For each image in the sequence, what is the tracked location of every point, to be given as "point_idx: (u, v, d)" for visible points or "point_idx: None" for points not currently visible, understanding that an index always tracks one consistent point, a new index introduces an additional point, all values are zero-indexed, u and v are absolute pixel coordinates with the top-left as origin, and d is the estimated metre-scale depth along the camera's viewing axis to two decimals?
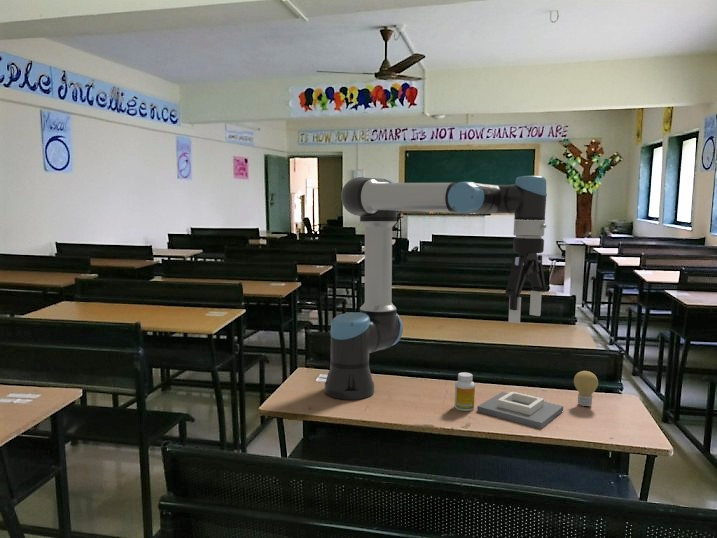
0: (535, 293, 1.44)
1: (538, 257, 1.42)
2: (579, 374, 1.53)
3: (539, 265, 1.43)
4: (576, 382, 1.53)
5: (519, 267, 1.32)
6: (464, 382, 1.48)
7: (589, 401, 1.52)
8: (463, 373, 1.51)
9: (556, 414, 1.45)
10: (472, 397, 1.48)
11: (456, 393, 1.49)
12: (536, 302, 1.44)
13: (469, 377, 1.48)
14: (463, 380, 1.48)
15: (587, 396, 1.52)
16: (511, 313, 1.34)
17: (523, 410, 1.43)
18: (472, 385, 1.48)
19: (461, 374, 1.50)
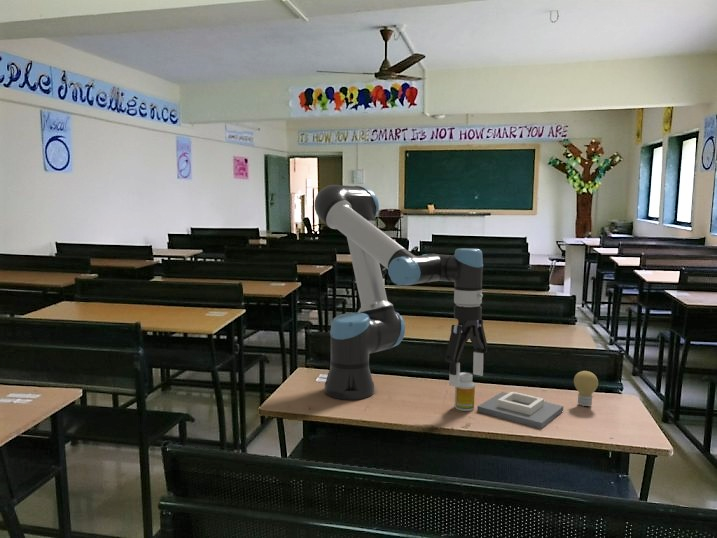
0: (477, 354, 1.54)
1: (479, 321, 1.52)
2: (579, 374, 1.53)
3: (480, 329, 1.52)
4: (576, 382, 1.53)
5: (457, 335, 1.42)
6: (464, 382, 1.48)
7: (589, 401, 1.52)
8: (463, 373, 1.51)
9: (556, 414, 1.45)
10: (472, 397, 1.48)
11: (456, 393, 1.49)
12: (478, 363, 1.54)
13: (469, 377, 1.48)
14: (463, 380, 1.48)
15: (587, 396, 1.52)
16: (451, 377, 1.44)
17: (523, 410, 1.43)
18: (472, 385, 1.48)
19: (461, 374, 1.50)
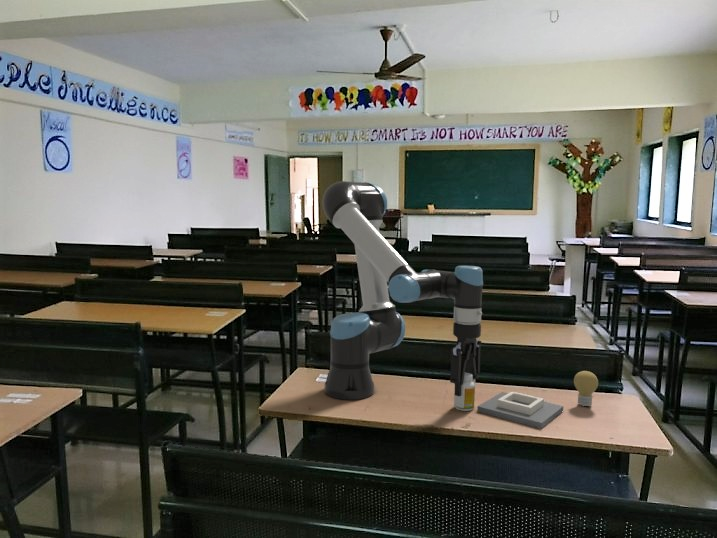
0: None
1: (477, 342, 1.53)
2: (579, 374, 1.53)
3: (477, 350, 1.52)
4: (576, 382, 1.53)
5: (458, 358, 1.44)
6: (464, 382, 1.48)
7: (589, 401, 1.52)
8: None
9: (556, 414, 1.45)
10: (472, 397, 1.48)
11: None
12: None
13: (469, 377, 1.48)
14: None
15: (587, 396, 1.52)
16: (456, 398, 1.48)
17: (523, 410, 1.43)
18: (472, 385, 1.48)
19: None
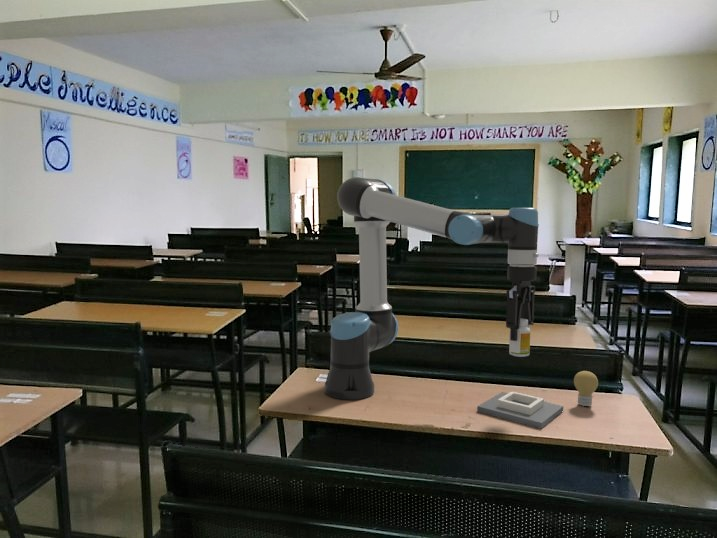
0: None
1: (531, 287, 1.49)
2: (579, 374, 1.53)
3: (531, 295, 1.49)
4: (576, 382, 1.53)
5: (514, 300, 1.40)
6: (519, 327, 1.44)
7: (589, 401, 1.52)
8: None
9: (556, 414, 1.45)
10: (528, 342, 1.44)
11: None
12: None
13: (525, 321, 1.44)
14: None
15: (587, 396, 1.52)
16: (512, 343, 1.44)
17: (523, 410, 1.43)
18: (528, 330, 1.44)
19: None
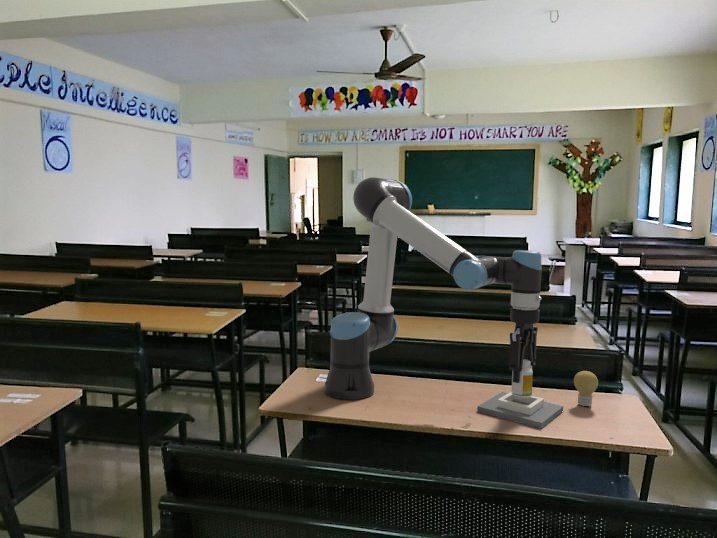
0: None
1: (534, 328, 1.50)
2: (579, 374, 1.53)
3: (533, 336, 1.50)
4: (576, 382, 1.53)
5: (517, 343, 1.41)
6: (522, 369, 1.46)
7: (589, 401, 1.52)
8: None
9: (556, 414, 1.45)
10: (530, 384, 1.46)
11: None
12: None
13: (527, 363, 1.45)
14: None
15: (587, 396, 1.52)
16: (514, 385, 1.46)
17: (523, 410, 1.43)
18: (530, 371, 1.46)
19: None
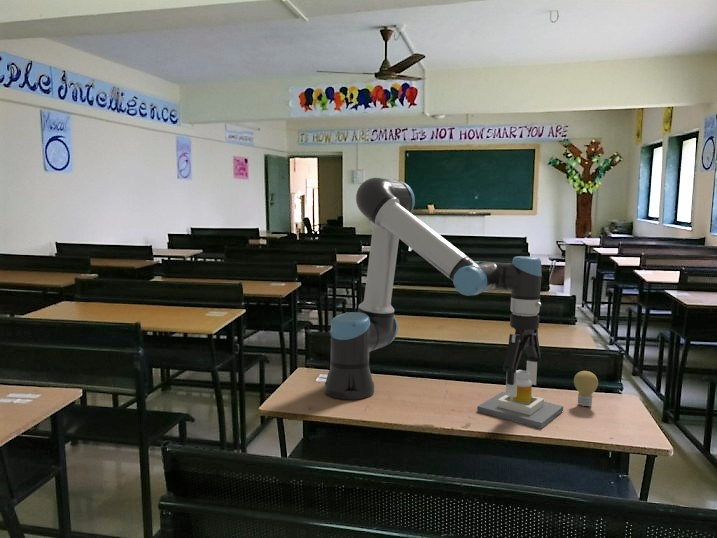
0: (531, 363, 1.52)
1: (534, 330, 1.50)
2: (579, 374, 1.53)
3: (535, 337, 1.51)
4: (576, 382, 1.53)
5: (515, 344, 1.41)
6: (521, 380, 1.46)
7: (589, 401, 1.52)
8: (519, 370, 1.48)
9: (556, 414, 1.45)
10: (529, 395, 1.46)
11: None
12: (532, 372, 1.52)
13: (527, 375, 1.46)
14: (520, 377, 1.46)
15: (587, 396, 1.52)
16: (508, 387, 1.43)
17: (523, 410, 1.43)
18: (530, 383, 1.46)
19: (518, 372, 1.47)
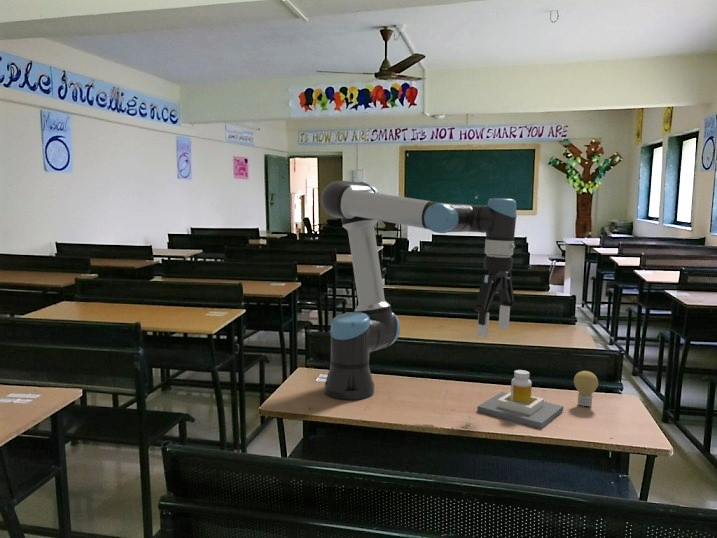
0: (504, 307, 1.53)
1: (507, 274, 1.50)
2: (579, 374, 1.53)
3: (508, 281, 1.51)
4: (576, 382, 1.53)
5: (488, 284, 1.41)
6: (521, 380, 1.46)
7: (589, 401, 1.52)
8: (519, 370, 1.48)
9: (556, 414, 1.45)
10: (529, 395, 1.46)
11: (513, 391, 1.47)
12: (505, 316, 1.53)
13: (526, 375, 1.46)
14: (520, 377, 1.46)
15: (587, 396, 1.52)
16: (480, 327, 1.43)
17: (523, 410, 1.43)
18: (529, 383, 1.46)
19: (518, 372, 1.47)
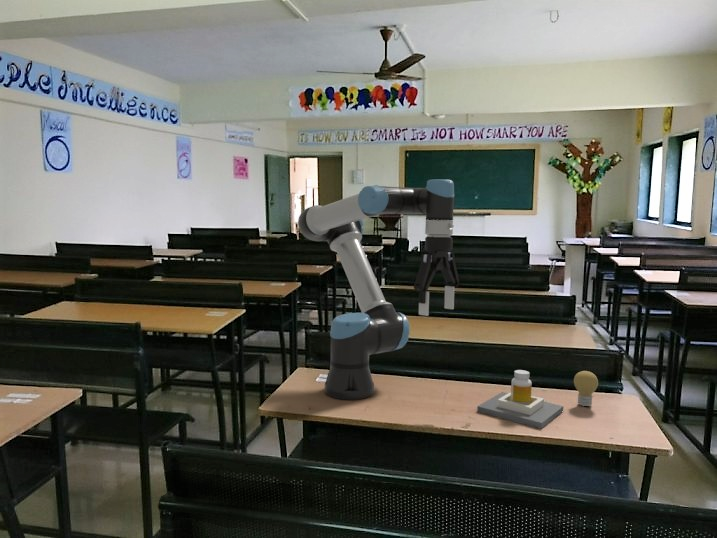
0: (449, 288, 1.55)
1: (450, 254, 1.53)
2: (579, 374, 1.53)
3: (451, 262, 1.53)
4: (576, 382, 1.53)
5: (427, 264, 1.43)
6: (521, 380, 1.46)
7: (589, 401, 1.52)
8: (519, 370, 1.48)
9: (556, 414, 1.45)
10: (529, 395, 1.46)
11: (513, 391, 1.47)
12: (449, 296, 1.55)
13: (526, 375, 1.46)
14: (520, 377, 1.46)
15: (587, 396, 1.52)
16: (421, 306, 1.45)
17: (523, 410, 1.43)
18: (529, 383, 1.46)
19: (518, 372, 1.47)
